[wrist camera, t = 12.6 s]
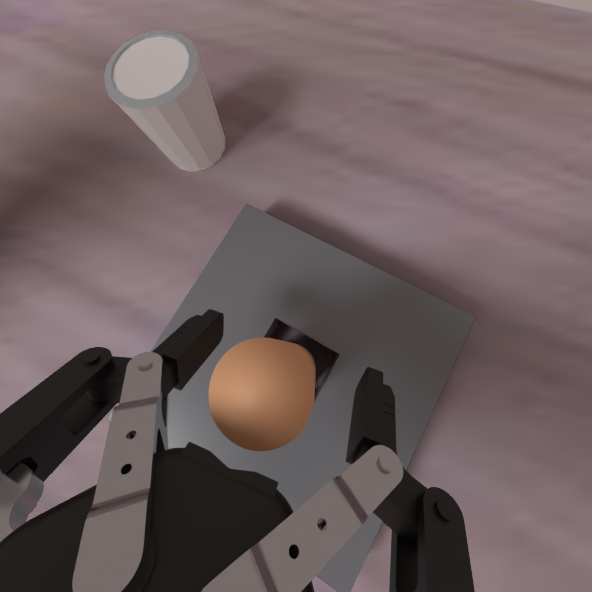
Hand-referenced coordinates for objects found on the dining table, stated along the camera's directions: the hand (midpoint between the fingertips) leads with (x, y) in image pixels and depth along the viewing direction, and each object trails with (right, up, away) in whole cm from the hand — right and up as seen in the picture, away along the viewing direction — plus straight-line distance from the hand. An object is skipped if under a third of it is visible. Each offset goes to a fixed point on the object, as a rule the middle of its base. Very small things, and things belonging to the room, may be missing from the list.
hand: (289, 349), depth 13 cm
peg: (0, -3, +6) cm, 6 cm away
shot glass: (-9, +17, +11) cm, 22 cm away
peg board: (0, -2, +6) cm, 6 cm away
